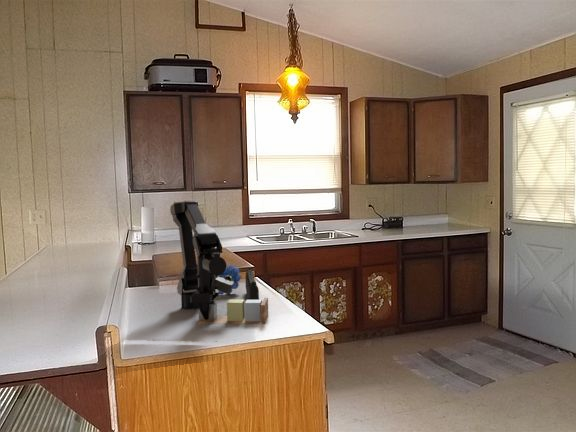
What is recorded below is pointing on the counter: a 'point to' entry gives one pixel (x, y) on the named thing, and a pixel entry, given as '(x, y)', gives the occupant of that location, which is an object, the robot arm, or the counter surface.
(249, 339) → the counter surface
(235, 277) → the grapes
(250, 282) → the magazine
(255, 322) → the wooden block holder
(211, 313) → the grey cube-like block
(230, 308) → the pale yellow block
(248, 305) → the pale blue block
